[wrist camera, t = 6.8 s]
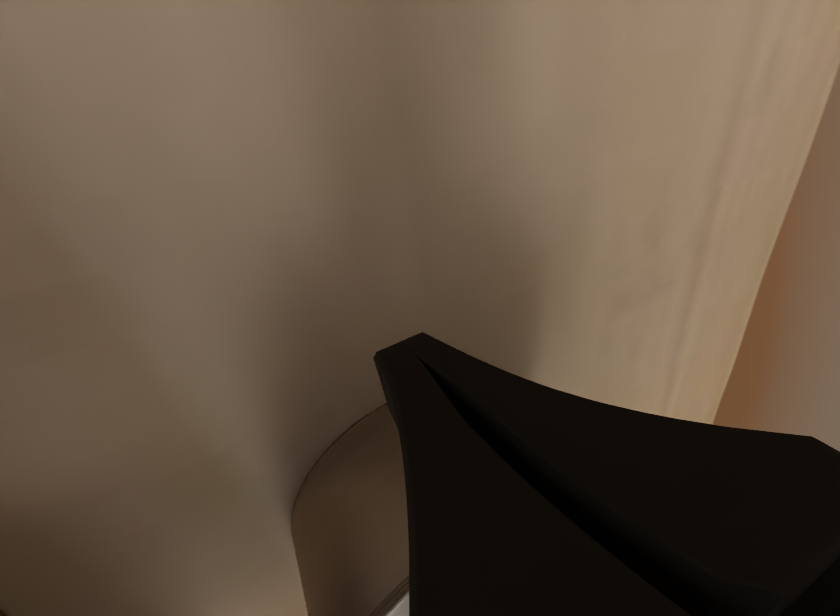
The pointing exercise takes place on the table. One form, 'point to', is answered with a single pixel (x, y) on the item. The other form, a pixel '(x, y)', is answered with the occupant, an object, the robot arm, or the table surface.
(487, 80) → the table surface
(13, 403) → the table surface
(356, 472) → the steel pot
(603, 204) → the table surface
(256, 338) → the table surface
